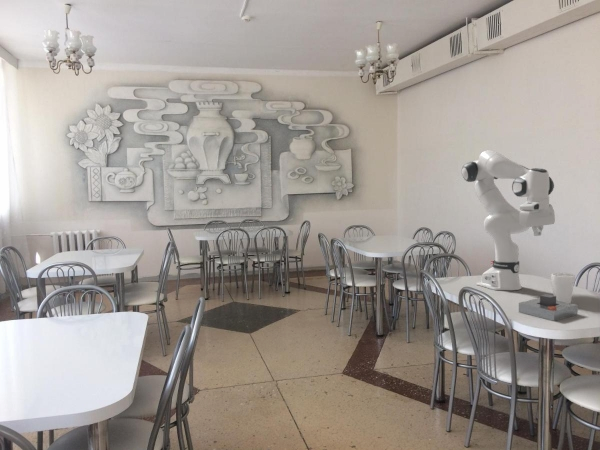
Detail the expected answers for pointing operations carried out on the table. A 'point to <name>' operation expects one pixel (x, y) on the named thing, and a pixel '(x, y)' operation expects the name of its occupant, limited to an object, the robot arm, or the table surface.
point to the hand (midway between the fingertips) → (537, 235)
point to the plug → (547, 300)
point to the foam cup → (563, 286)
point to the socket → (548, 309)
